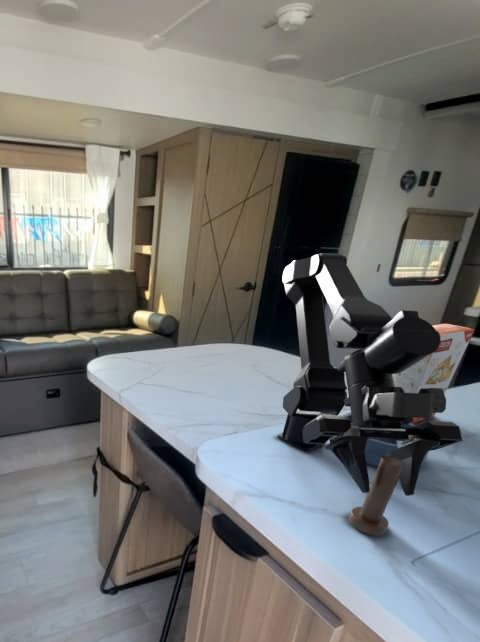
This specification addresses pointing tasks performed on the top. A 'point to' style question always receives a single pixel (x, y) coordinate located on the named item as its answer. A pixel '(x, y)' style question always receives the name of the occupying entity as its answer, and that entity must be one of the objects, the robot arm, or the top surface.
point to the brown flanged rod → (377, 498)
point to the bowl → (380, 447)
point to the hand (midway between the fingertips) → (387, 493)
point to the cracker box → (436, 363)
